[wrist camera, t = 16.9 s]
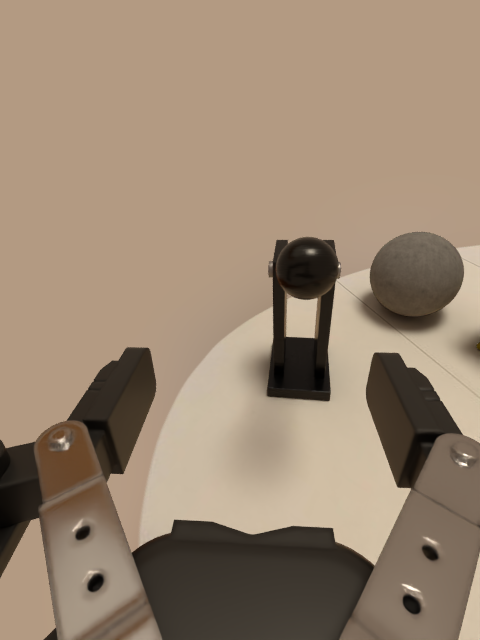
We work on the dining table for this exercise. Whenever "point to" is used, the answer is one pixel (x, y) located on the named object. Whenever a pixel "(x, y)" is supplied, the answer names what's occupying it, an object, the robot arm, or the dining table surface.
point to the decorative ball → (416, 274)
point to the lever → (307, 268)
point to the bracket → (299, 345)
